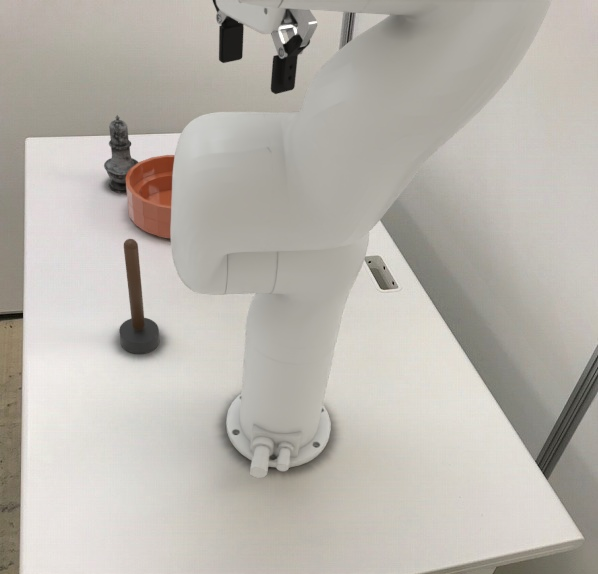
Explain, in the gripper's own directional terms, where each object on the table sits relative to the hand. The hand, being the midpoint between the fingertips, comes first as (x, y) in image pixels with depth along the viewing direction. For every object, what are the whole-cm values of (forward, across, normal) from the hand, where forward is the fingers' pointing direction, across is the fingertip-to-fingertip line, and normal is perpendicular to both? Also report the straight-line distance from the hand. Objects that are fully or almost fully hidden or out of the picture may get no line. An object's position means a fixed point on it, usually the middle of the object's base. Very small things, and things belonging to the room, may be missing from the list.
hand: (255, 75), depth 76 cm
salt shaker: (+29, -30, -2) cm, 42 cm away
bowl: (+29, -18, +1) cm, 34 cm away
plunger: (+29, +4, -21) cm, 36 cm away
